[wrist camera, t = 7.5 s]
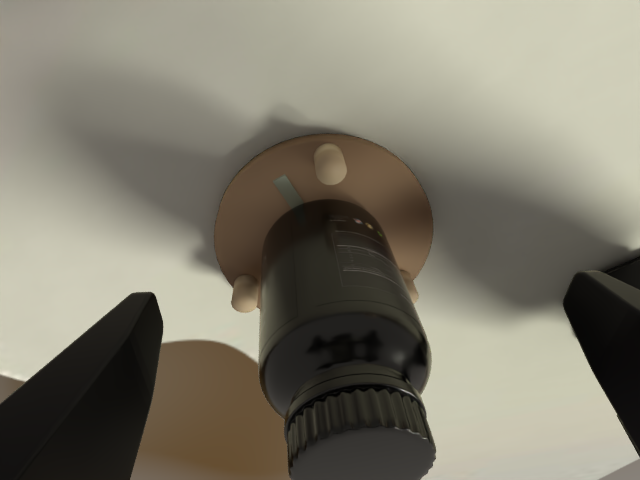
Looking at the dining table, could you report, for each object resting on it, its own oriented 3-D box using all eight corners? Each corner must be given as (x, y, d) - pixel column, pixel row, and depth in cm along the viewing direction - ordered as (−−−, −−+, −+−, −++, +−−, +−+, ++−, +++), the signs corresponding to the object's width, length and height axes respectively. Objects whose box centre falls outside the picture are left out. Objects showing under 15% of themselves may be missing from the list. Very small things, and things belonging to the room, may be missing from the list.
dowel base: (455, 262, 26) (471, 290, 23) (288, 337, 28) (288, 368, 26) (375, 87, 19) (386, 103, 17) (170, 204, 22) (157, 230, 20)
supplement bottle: (339, 308, 26) (376, 530, 16) (240, 265, 23) (212, 498, 13) (411, 229, 23) (513, 443, 13) (306, 169, 20) (334, 380, 10)
